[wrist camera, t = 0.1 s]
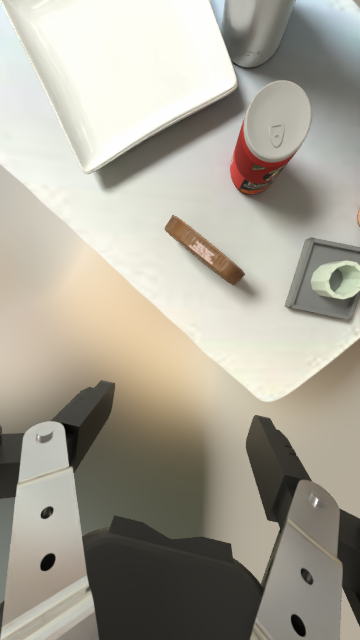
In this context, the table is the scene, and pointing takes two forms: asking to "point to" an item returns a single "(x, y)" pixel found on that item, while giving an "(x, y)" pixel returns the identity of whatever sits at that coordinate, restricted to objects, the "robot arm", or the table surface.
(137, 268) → the table surface
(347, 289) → the holder
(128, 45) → the square plate
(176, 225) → the tin
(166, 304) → the table surface
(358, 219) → the cup
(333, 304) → the tray
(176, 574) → the robot arm
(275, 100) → the canned food
